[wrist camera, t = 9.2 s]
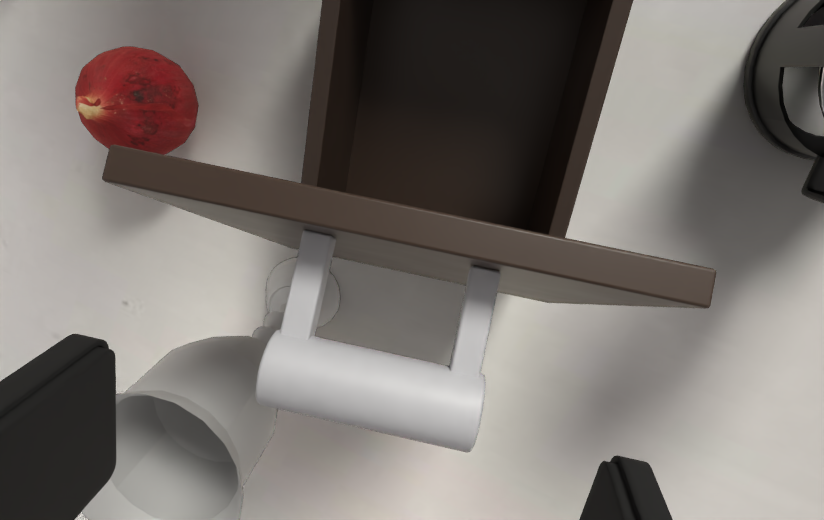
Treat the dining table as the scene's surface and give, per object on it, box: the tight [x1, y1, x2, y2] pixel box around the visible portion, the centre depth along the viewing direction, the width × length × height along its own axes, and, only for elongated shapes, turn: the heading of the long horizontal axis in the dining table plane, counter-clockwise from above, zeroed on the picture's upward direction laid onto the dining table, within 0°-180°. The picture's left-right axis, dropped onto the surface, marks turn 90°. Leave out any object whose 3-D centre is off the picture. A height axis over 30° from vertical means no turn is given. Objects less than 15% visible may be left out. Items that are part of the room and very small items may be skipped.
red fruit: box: [75, 47, 198, 155], centre depth 30 cm, size 6×6×8 cm
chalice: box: [82, 258, 340, 520], centre depth 29 cm, size 7×7×18 cm
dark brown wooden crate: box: [301, 0, 633, 238], centre depth 28 cm, size 15×13×8 cm
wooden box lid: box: [102, 145, 716, 452], centre depth 19 cm, size 15×13×5 cm
